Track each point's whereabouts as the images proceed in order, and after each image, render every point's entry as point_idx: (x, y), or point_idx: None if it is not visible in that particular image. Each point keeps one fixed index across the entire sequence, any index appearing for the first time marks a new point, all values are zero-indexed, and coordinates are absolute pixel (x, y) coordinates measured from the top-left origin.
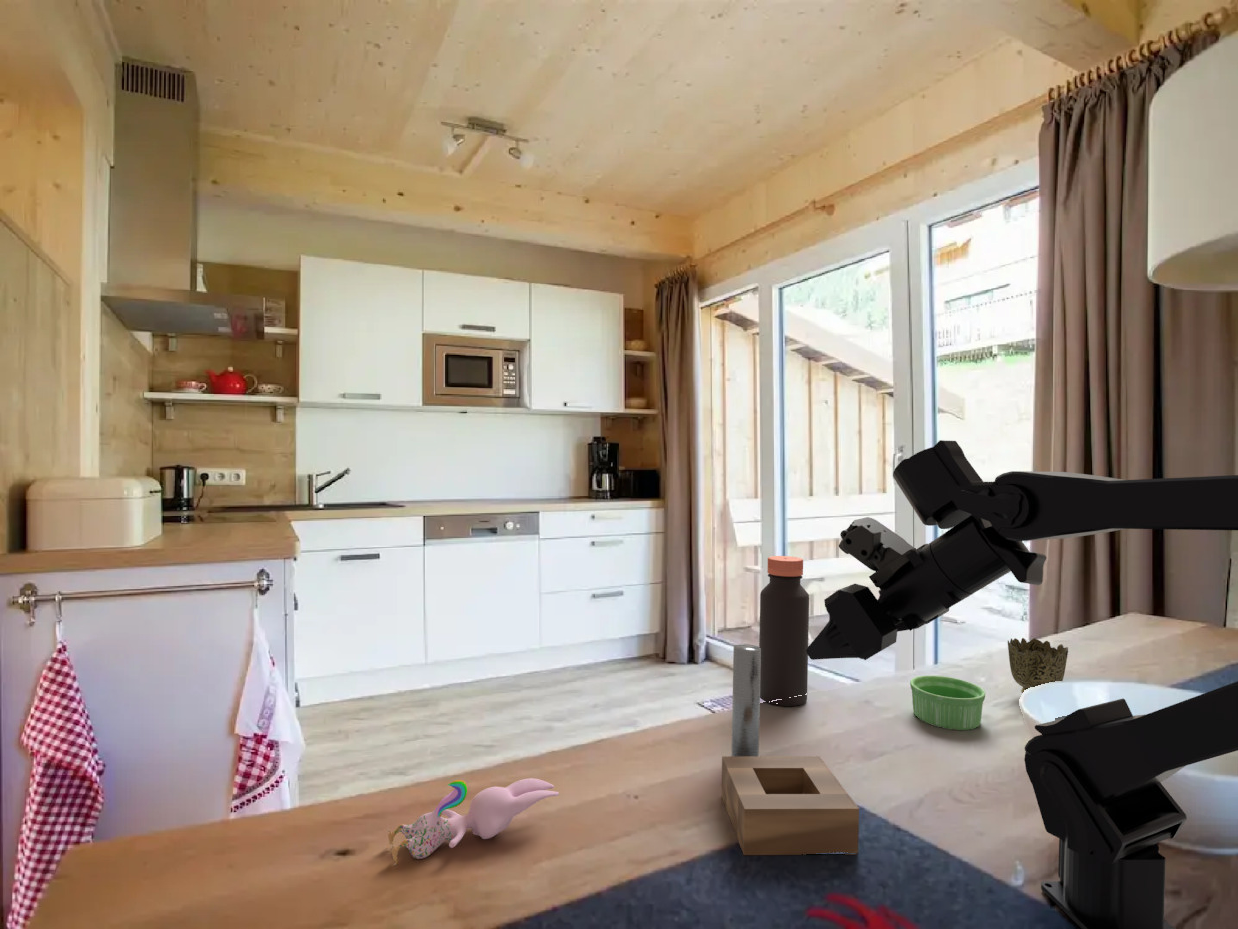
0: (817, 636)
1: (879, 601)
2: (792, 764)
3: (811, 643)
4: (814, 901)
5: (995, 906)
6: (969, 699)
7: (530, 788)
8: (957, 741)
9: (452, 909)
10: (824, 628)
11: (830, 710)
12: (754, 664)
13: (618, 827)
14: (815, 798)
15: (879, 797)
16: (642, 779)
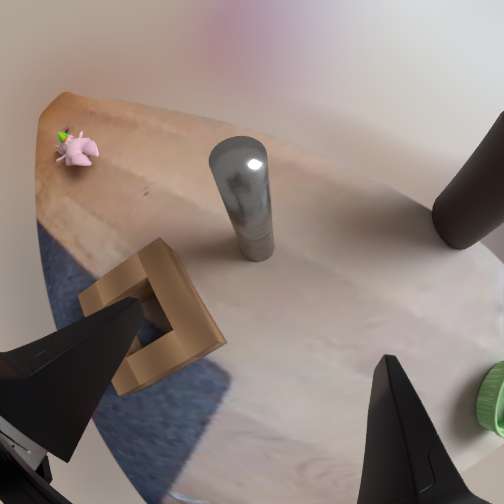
0: (73, 323)
1: (412, 500)
2: (176, 315)
3: (103, 308)
4: None
5: (136, 475)
6: (497, 432)
7: (86, 151)
8: (451, 428)
9: (39, 192)
10: (36, 341)
11: (461, 281)
12: (223, 191)
13: (104, 208)
14: None
15: (261, 401)
16: (175, 182)
